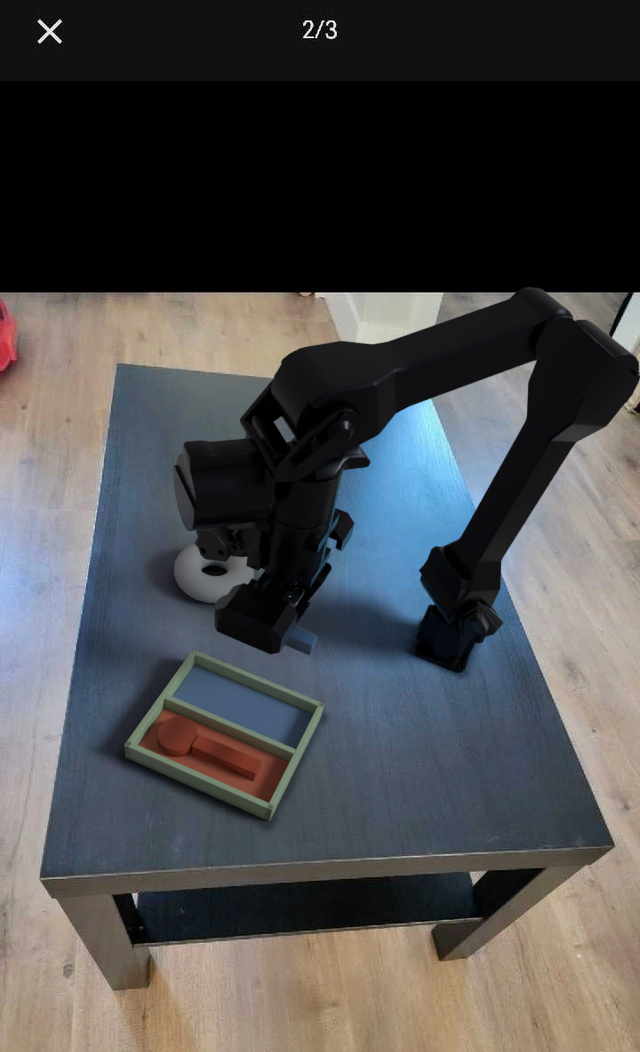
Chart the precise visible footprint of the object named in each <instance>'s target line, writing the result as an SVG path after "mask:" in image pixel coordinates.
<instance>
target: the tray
mask: <svg viewBox="0 0 640 1052" xmlns="http://www.w3.org/2000/svg"><path fill="white" fill-rule="evenodd" d="M324 708H325V703H324V702H321V701H319V700H316V699H314V698H311V697H309V696H306V695H305V694H302V693H299V692H297V691H295V690H292V689H289V688H288V687H285V686H283V685H280V684H278V683H275V682H272V681H270V680H268V679H265V678H263V677H260V676H258V675H256V674H253V673H251V672H249V671H246V670H244V669H242V668H239V667H237V666H234V665H232V664H231V663H230V664H229V663H227V662H224V661H222V660H220V659H217V658H215V657H214V656H213V657H212V656H211V655H208V654H206V653H204V652H201V651H198V650H195V649H191V651H190V652H189V654H188V655H187V657H186V658H185V659H184V661H183V662H182V664H181V665H180V667H179V668H178V669H177V671H176V672H175V673H174V675H173V676H172V677H171V679H170V681H169V682H168V683H167V685H166V686H165V687H164V689H163V690H162V692H161V693H160V694H159V696H158V697H157V699H156V700H155V701H154V703H153V704H152V705H151V707H150V708H149V710H148V711H147V713H146V714H145V715H144V716H143V718H142V719H141V721H140V722H139V724H138V725H137V726H136V728H135V729H134V731H133V732H132V734H131V735H130V736H129V738H128V739H127V740H126V742H125V743H124V745H123V746H124V753H125V754H124V755H125V758H126V759H128V760H130V761H132V762H135V763H138V764H139V765H141V766H145V767H146V768H149V769H151V770H153V771H155V772H157V773H159V774H162V775H165V776H167V777H168V778H171V779H173V780H175V781H178V782H180V783H182V784H184V785H187V786H189V787H191V788H193V789H196V790H198V791H200V792H202V793H204V794H207V795H209V796H212V797H214V798H216V799H218V800H220V801H222V802H224V803H227V804H229V805H232V806H234V807H236V808H238V809H240V810H243V811H245V812H246V813H249V814H252V815H254V816H256V817H258V818H261V819H263V820H265V821H267V822H271V820H272V817H273V816H274V814H275V812H276V810H277V808H278V805H279V804H280V801H281V800H282V797H283V795H284V793H285V792H286V789H287V787H288V785H289V783H290V781H291V779H292V777H293V775H294V773H295V771H296V769H297V766H298V765H299V763H300V761H301V759H302V757H303V755H304V753H305V751H306V749H307V747H308V744H309V742H310V741H311V739H312V737H313V734H314V732H315V730H316V728H317V727H318V724H319V722H320V720H321V718H322V716H323V712H324ZM174 717H183V718H187V719H189V720H190V721H192V722H193V723H194V724H195V726H196V727H197V730H198V735H199V734H200V735H203V736H205V737H207V738H210V739H212V740H214V741H217V742H219V743H221V744H224V745H226V746H228V747H231V748H233V749H235V750H238V751H240V752H242V753H244V754H247V755H249V756H251V757H254V758H256V759H258V760H261V761H262V763H261V769H260V771H259V773H258V775H257V777H256V778H255V780H254V781H252V780H250V779H248V778H245V777H243V776H241V775H238V774H236V773H234V772H232V771H229V770H227V769H225V768H222V767H220V766H218V765H215V764H213V763H211V762H209V761H206V760H204V759H202V758H199V757H197V756H195V755H193V754H192V752H191V753H190V754H188V755H186V756H183V757H171V756H168V755H166V754H165V753H163V752H162V751H161V750H160V748H159V746H158V735H157V734H158V729H159V727H160V725H161V724H162V723H163V722H164V721H166V720H168V719H170V718H174Z"/></svg>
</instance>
